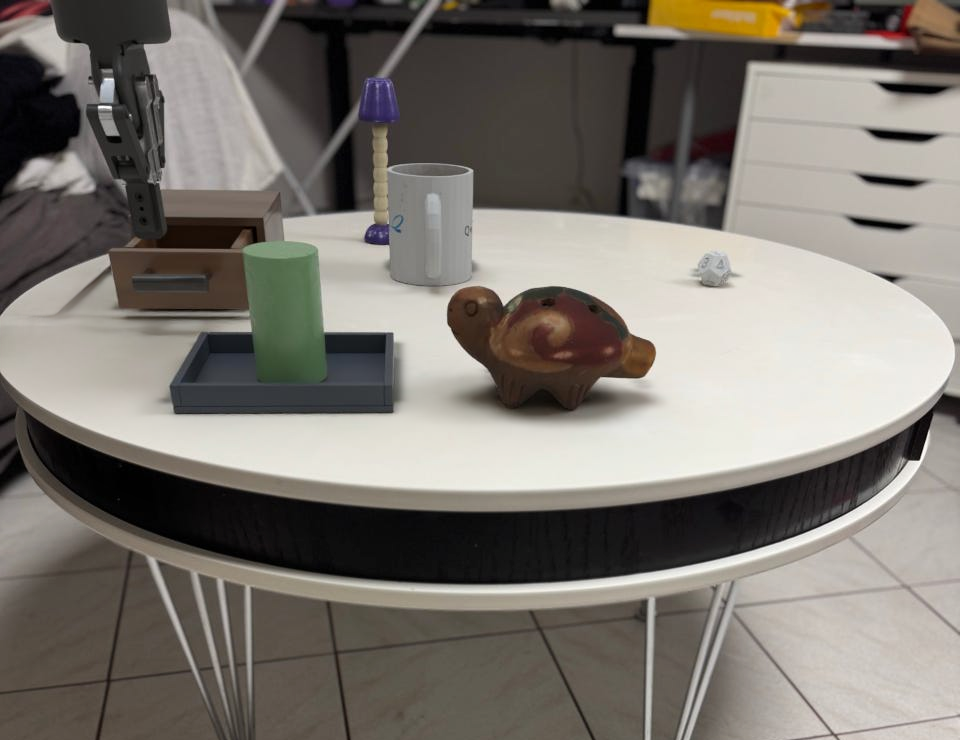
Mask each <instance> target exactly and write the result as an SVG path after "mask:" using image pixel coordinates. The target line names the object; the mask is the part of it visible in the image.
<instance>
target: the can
mask: <svg viewBox="0 0 960 740" xmlns="http://www.w3.org/2000/svg"><path fill="white" fill-rule="evenodd" d="M242 255H243V263H244V272H245V280H246V288H247V296H248V305H249V309H248V312H249V313H248V314H249V320H250V328H251V330H250V331H251V332H252V338H253V346H254V354H255V363H256V371H257V378H258V380H259V381H260V382H262V383H278V382H322V381H323V380H324V379H326V377H327V362H326V349H325V336H324V332H325V324H324V309H323V297H322V284H321V269H320V259H319V258H320V257H319V249H318V247H317V246H316V245H313V244H311V243H307V242H302V241H293V240H285V241H271V242H262V243H256V244H252V245H249V246H246V247H245V248H243V250H242Z"/></svg>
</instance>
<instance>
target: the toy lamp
mask: <svg viewBox="0 0 960 740" xmlns="http://www.w3.org/2000/svg"><path fill="white" fill-rule="evenodd" d="M398 105H399V104H398V101H397V96H396V93H395V88H394V84H393V82H392V80H391V79H390V78H387V77H386V78H385V77H367V78H365V80H364V81H363V86H362V92H361V97H360V101H359V106H358V112H357V119H358V120H359V121H360V122H363V123H369V124H372V125H371V132H372V135H373V138H372V149H373V151H374V152H373V155H372V163H373V166H374V168H373V172H372V174H373V180H374V182H373V186H372V187H373V195H374V198H373V208H374V212H373V221H374V223H372V224H371V225H369V226H368V227H367V229H366V230H365V233H364V237H363V239H364V241H365V242H366V243H370V244H374V245H389V217H388V186H387V169H388V167H387V166H388V162H389V155H388V153H387V151H388V147H389V145H388V144H389V143H388V139H387V136H388V124H397V123H399V122H400V120H401V116H400V115H401V114H400V111H399V106H398Z"/></svg>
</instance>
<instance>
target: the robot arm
mask: <svg viewBox="0 0 960 740" xmlns="http://www.w3.org/2000/svg"><path fill="white" fill-rule="evenodd" d="M49 2H50V7H51V11H52V16H53V20H54V26H55V30H56V34H57V36H58V38H60V39H61V41H63V42H65V43H69V44H85V45H87V46H88V51H89V61H90V62H89V63H90V71H91V72H90V73H91V74H90V75H88V77H87V84H88V89H89V94H90V98H91V102H92V103H86V107H85V115H86V118H87V120H88V123H89V126H90V128H91V131H92V132H93V134H94V138H95V139H96V141H97V144H98V147H99V148H100V152H101V153H102V156H103V158H104V160H105V163H106V165H107V168H108V170H109V172H110V175H111V177H112V179H113V180H119V182H120V185H122V186H124V189H125V193H126V200H127V204H128V210H129V215H131V220H132V226H133V231H134V234H135V236H136V237H137V238H139V239H160V238H162V237H163V236H164V235H165V234H166V232H167V226H166V220H165V214H164V208H163V202H162V196H161V185H160V182H161V181H162V177H163V170H162V169H165V167H166V155H165V154H166V151H165V149H166V148H165V147H166V145H165V140H166V139H165V102H166V99H165V95H163V91H162V90H161V89H160V87H159V86H160V85H159V81H158V77H157V75H156V73H151V69H150V68H151V67H150V64H149V61H148V57H147V53H146V49H145V45H158V44H159V45H161V44H166V43H168V42H169V41H171V38H172V27H171V21H170V14H169V7H168V1H167V0H49Z"/></svg>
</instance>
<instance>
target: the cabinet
mask: <svg viewBox="0 0 960 740" xmlns="http://www.w3.org/2000/svg"><path fill="white" fill-rule="evenodd" d="M160 190H161V196H162V202H163V208H164V214H165V220H166V225H173V226H256V234H257V243H262V242H271V241H286V239H285V231H284V230H285V229H284V219H283V209H282V200H281V199H282V198H281V197H282V196H281V191H280V190H253V189H252V190H250V189H249V190H247V189H246V190H245V189H244V190H242V189H237V190H236V189H169V188H167V189H164V188H162V189H161V188H160ZM127 220H128V225H129V230H130V236H131V240H132V239H134V238H135V237H136V236H135V234H134V231H133V226H132V220H131V215H130V214H129V215H127Z"/></svg>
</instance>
